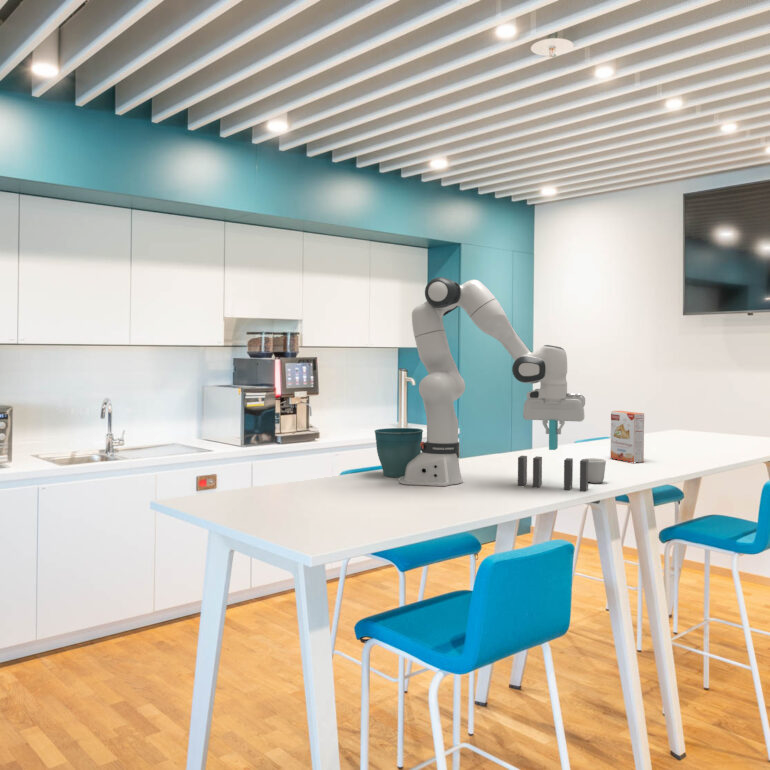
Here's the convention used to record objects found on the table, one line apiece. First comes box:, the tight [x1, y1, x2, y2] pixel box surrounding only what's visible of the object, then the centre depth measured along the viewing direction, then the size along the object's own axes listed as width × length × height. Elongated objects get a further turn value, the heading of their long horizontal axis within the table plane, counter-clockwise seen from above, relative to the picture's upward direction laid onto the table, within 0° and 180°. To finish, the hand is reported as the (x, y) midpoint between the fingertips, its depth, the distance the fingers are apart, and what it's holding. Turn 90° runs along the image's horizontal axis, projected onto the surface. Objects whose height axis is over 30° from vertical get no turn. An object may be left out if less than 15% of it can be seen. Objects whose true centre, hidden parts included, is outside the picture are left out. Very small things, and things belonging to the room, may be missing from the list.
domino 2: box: [532, 456, 543, 489], centre depth 254 cm, size 2×5×10 cm, turn 157°
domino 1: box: [517, 455, 528, 487], centre depth 256 cm, size 2×5×10 cm, turn 157°
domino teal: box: [548, 420, 559, 451], centre depth 251 cm, size 2×5×10 cm, turn 157°
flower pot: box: [374, 427, 424, 478], centre depth 276 cm, size 18×18×17 cm
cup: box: [586, 457, 607, 484], centre depth 263 cm, size 11×8×8 cm
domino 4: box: [579, 458, 589, 492], centre depth 247 cm, size 2×5×10 cm, turn 157°
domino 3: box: [563, 457, 574, 491], centre depth 249 cm, size 2×5×10 cm, turn 157°
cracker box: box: [610, 410, 645, 464], centre depth 314 cm, size 14×6×21 cm, turn 25°
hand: (553, 433), depth 251 cm, fingers closed on domino teal, 2 cm apart
